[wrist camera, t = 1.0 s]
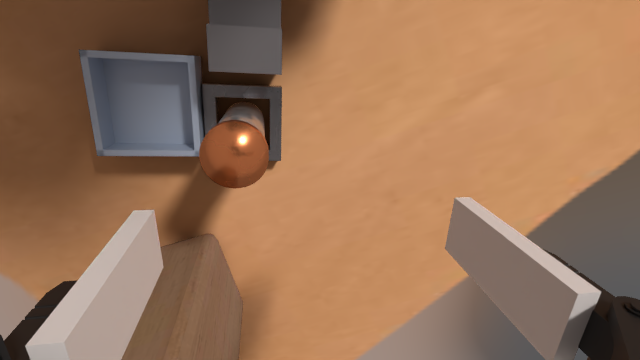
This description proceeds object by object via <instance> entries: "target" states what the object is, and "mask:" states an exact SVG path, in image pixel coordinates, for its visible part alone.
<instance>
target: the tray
mask: <svg viewBox="0 0 640 360" xmlns="http://www.w3.org/2000/svg"><path fill="white" fill-rule="evenodd" d="M79 54H80V60H81V66H82V71H83V77H84V83H85V88H86V94H87V100H88V105H89V111H90V117H91V123H92V128H93V134H94V140H95V145H96V151H97V156H199V150H200V145H201V143H202V140H203V139H204V137H205V123H204V108H203V92H202V68H201V56H190V55H171V54H153V53H134V52H115V51H96V50H79Z"/></svg>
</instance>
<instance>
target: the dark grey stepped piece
mask: <svg viewBox="0 0 640 360" xmlns="http://www.w3.org/2000/svg"><path fill="white" fill-rule="evenodd" d="M208 9H209V24H206V30H207V48H208V65H209V71H213V72H235V73H256V74H278V75H282V29H281V0H208Z"/></svg>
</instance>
